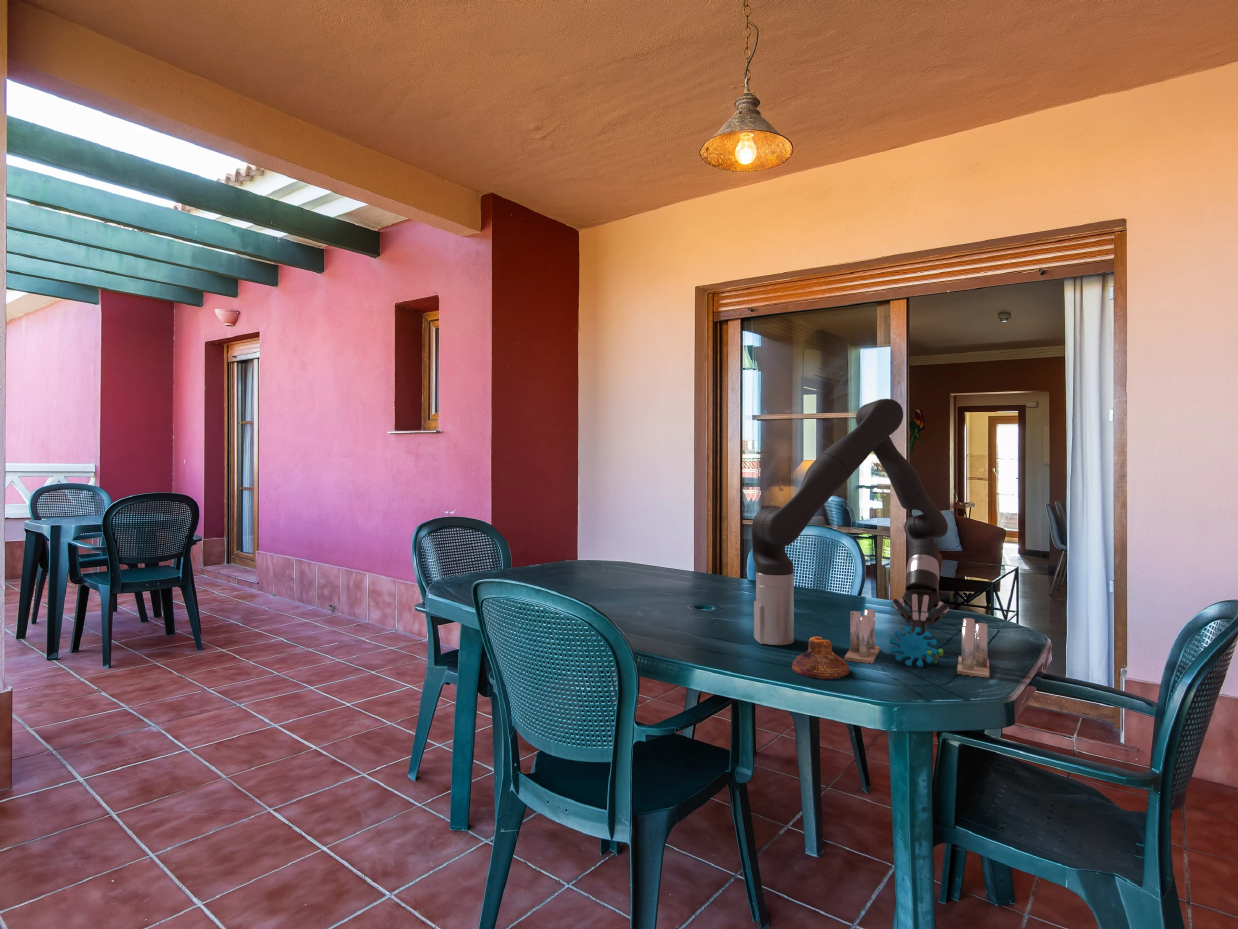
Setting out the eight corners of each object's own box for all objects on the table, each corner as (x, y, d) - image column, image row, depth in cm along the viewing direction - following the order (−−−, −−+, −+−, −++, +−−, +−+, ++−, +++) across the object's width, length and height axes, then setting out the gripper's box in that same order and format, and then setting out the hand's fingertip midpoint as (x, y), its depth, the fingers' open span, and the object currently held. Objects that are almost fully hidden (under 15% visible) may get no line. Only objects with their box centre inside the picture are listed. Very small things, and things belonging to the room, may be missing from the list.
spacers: (854, 645, 168) (854, 607, 168) (987, 660, 154) (987, 619, 154) (846, 655, 158) (846, 616, 158) (987, 672, 145) (987, 629, 145)
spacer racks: (853, 646, 169) (853, 643, 169) (988, 662, 156) (988, 659, 155) (844, 660, 157) (844, 657, 157) (989, 678, 144) (989, 674, 144)
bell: (788, 663, 156) (788, 631, 156) (843, 665, 155) (843, 632, 155) (795, 679, 144) (795, 644, 144) (855, 681, 143) (855, 646, 143)
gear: (883, 656, 155) (895, 619, 160) (885, 670, 158) (897, 633, 164) (937, 671, 149) (947, 632, 154) (937, 685, 152) (947, 646, 158)
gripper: (892, 566, 175) (887, 625, 164) (951, 570, 168) (949, 631, 158) (895, 584, 179) (889, 642, 168) (951, 588, 173) (950, 649, 162)
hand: (918, 637), depth 163 cm, fingers closed
